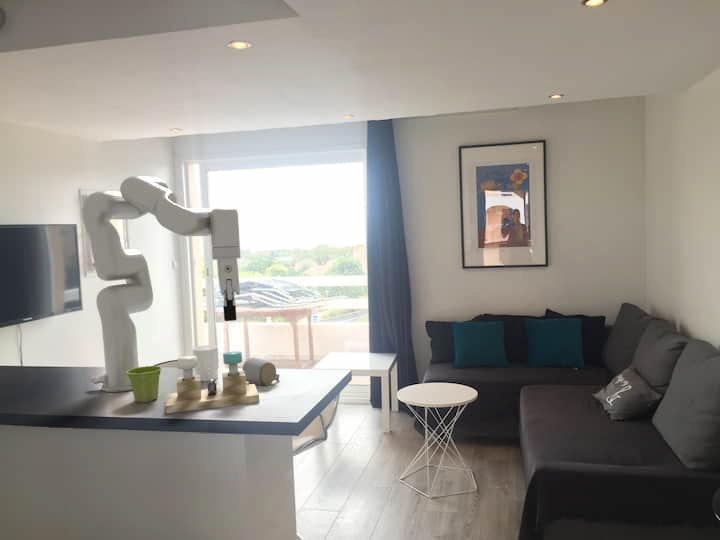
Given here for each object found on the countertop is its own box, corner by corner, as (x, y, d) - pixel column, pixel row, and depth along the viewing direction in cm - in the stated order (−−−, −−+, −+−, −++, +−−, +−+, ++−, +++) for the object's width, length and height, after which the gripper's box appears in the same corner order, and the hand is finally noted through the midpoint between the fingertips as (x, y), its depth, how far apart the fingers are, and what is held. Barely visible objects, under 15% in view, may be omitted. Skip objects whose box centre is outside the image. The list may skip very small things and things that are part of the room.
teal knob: (225, 383, 157) (223, 356, 157) (224, 378, 162) (222, 352, 162) (243, 381, 159) (242, 354, 158) (242, 376, 164) (240, 350, 163)
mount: (166, 413, 150) (164, 387, 150) (168, 400, 162) (166, 376, 161) (259, 402, 157) (257, 376, 156) (254, 390, 168) (253, 366, 168)
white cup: (216, 381, 181) (214, 349, 180) (191, 382, 181) (189, 350, 180) (222, 375, 189) (220, 344, 188) (198, 376, 189) (196, 345, 188)
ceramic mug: (261, 388, 170) (259, 362, 170) (242, 384, 175) (240, 359, 175) (286, 380, 179) (285, 356, 178) (267, 377, 184) (266, 353, 183)
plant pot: (128, 398, 166) (125, 368, 166) (162, 393, 170) (160, 364, 169) (129, 406, 158) (126, 375, 157) (165, 401, 162) (163, 370, 161)
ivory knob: (179, 388, 154) (177, 360, 154) (179, 383, 159) (177, 356, 158) (198, 386, 155) (196, 358, 155) (198, 381, 160) (196, 355, 160)
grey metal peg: (208, 396, 158) (207, 381, 157) (207, 393, 160) (206, 379, 160) (217, 394, 158) (216, 380, 158) (216, 392, 161) (215, 378, 160)
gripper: (242, 253, 152) (246, 323, 153) (238, 252, 166) (242, 315, 168) (212, 255, 150) (217, 325, 151) (211, 253, 164) (215, 317, 166)
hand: (230, 320), depth 159 cm, fingers closed
